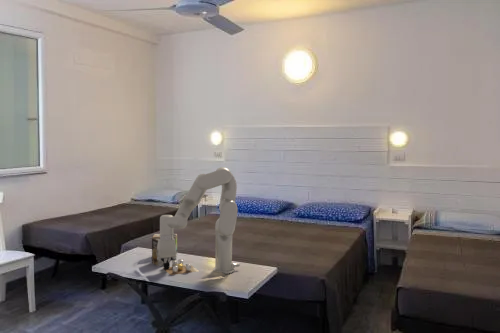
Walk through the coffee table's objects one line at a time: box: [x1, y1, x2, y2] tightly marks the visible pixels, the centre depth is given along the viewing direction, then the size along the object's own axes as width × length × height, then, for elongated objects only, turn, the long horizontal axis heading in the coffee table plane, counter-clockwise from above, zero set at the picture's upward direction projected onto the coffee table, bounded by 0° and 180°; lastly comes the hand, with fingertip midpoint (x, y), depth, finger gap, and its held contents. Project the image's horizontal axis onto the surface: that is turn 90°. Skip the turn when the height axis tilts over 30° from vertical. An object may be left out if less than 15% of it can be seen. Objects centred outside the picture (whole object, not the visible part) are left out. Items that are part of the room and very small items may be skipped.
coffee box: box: [151, 237, 167, 267], centre depth 255 cm, size 9×6×16 cm
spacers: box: [166, 258, 192, 275], centre depth 243 cm, size 12×14×4 cm
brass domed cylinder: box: [175, 263, 183, 271], centre depth 243 cm, size 4×4×3 cm
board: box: [162, 264, 200, 276], centre depth 244 cm, size 17×15×1 cm
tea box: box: [151, 233, 178, 260], centre depth 273 cm, size 15×10×15 cm
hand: (166, 269), depth 240 cm, fingers closed
